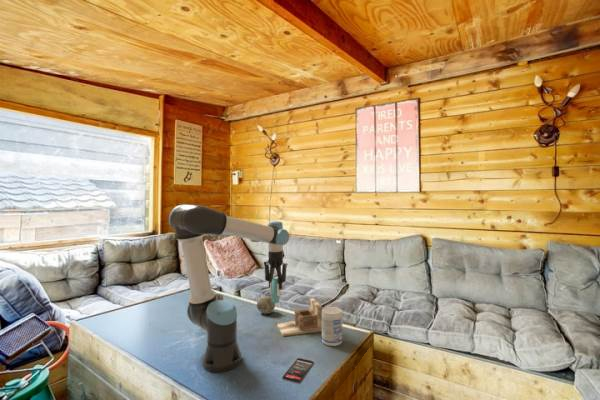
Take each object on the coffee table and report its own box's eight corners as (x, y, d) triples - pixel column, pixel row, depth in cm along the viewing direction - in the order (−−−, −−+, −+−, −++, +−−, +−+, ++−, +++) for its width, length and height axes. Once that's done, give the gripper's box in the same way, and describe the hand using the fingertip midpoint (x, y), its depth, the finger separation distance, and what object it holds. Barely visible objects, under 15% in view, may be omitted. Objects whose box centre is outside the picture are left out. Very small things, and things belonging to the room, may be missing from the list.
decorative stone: (277, 312, 174) (277, 294, 174) (269, 317, 167) (269, 299, 167) (263, 309, 179) (262, 292, 179) (254, 314, 172) (254, 296, 171)
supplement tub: (337, 349, 133) (337, 315, 133) (318, 343, 138) (317, 311, 137) (345, 339, 141) (345, 308, 141) (326, 335, 146) (326, 304, 146)
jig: (322, 330, 150) (321, 306, 150) (282, 336, 145) (282, 311, 144) (313, 320, 163) (313, 298, 162) (277, 325, 157) (276, 302, 157)
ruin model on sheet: (204, 306, 185) (204, 290, 185) (208, 304, 188) (207, 289, 188) (220, 309, 181) (220, 292, 181) (223, 307, 184) (223, 291, 183)
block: (316, 327, 152) (316, 315, 151) (299, 329, 149) (299, 317, 149) (311, 320, 160) (311, 308, 160) (294, 322, 158) (294, 310, 158)
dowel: (276, 303, 158) (276, 280, 158) (270, 302, 160) (270, 279, 160) (280, 301, 162) (280, 278, 162) (273, 299, 164) (274, 277, 163)
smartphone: (281, 378, 112) (297, 357, 125) (281, 380, 112) (297, 359, 125) (299, 383, 109) (314, 361, 123) (299, 384, 109) (314, 363, 123)
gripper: (292, 250, 160) (292, 294, 161) (265, 248, 168) (265, 290, 168) (286, 253, 154) (286, 299, 154) (258, 250, 161) (258, 294, 161)
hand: (275, 294), depth 161 cm, fingers closed on dowel, 4 cm apart
